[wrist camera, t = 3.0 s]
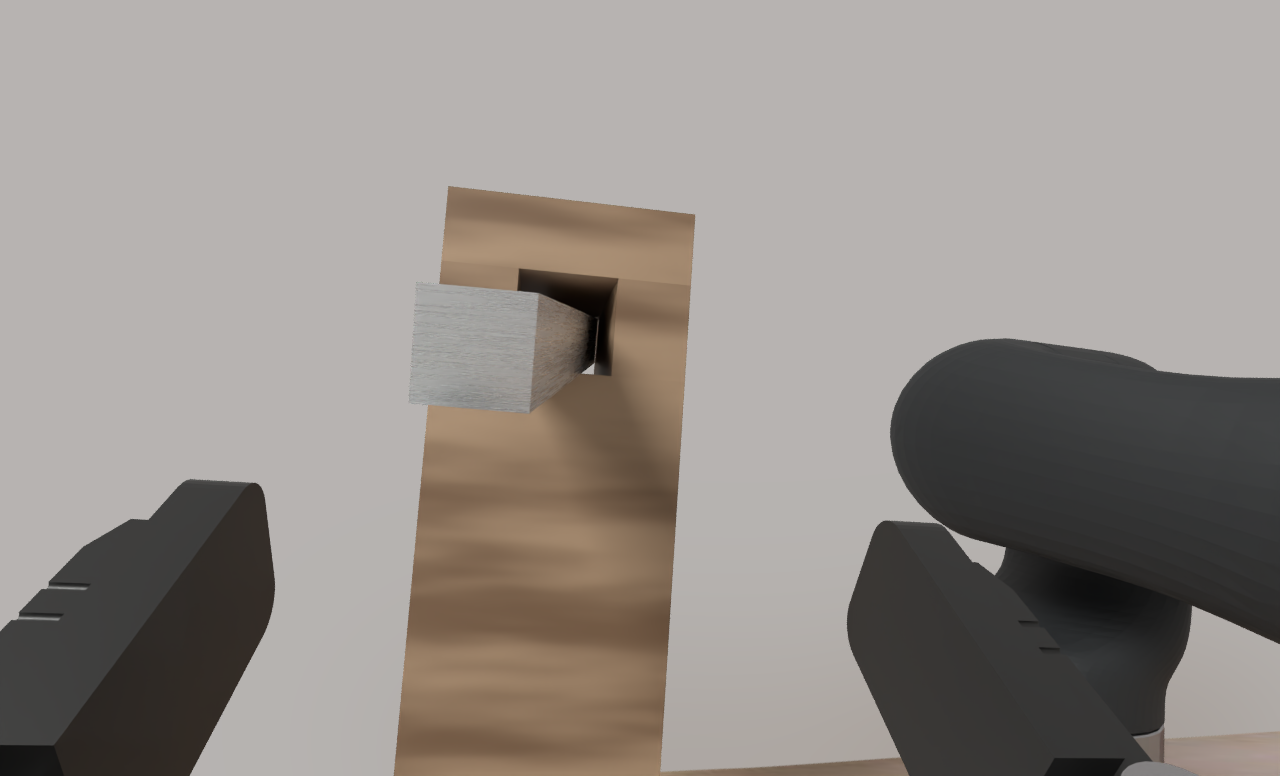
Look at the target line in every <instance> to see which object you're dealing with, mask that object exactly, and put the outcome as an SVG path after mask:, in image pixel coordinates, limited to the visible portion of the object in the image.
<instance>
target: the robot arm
mask: <svg viewBox="0 0 1280 776" xmlns="http://www.w3.org/2000/svg"><path fill="white" fill-rule="evenodd" d="M890 438H891V446H892V452H893V456H894V460H895V463H896V466H897V468H898V471H899V474H900V476H901V477H902V479H903V481H904V483H905V485H906V487H907V488H908V490H909V491H910V493H911V494H912V495H913V496H914V498H915V499H916V500H917V502H918V503H919V504H920V505H921V506H922V507H923V508H924V509H925V510H926V511H927V512H928V513H929V514H930V515H931V516H932V517H933V518H935V519H936V520H937V521H939V522H940V523H942V524H943V525H945V526H946V527H948V528H949V529H951V530H953V531H955V532H957V533H959V534H961V535H964V536H966V537H969V538H972V539H975V540H979V541H983V542H987V543H991V544H995V545H999V546H1003V547H1006V550H1005V555H1004V559H1003V562H1002V565H1001V567H1000V569H999V570H998V572H997V573H996V575H995V576H994V575H993V574H992V573H990V572H989V571H988V570H987V569H985V568H984V567H982V566H981V565H980V564H979V563H976V562H972V561H971V560H970V559H969V557H968V556H967V555H966V554H965V552H964V551H963V550H962V548H961V547H960V546H959V545H958V543H957V542H956V541H955V539H954V538H953V537H952V536H951V534H950V533H949V532H948V531H947V530H946V528H945V527H943V526H942V525H940V524H937V523H920V522H903V521H901V522H900V521H883V522H881V523H880V524H879V525H878V526H877V527H876V529H875V531H874V533H873V536H872V539H871V542H870V545H869V548H868V551H867V554H866V556H865V560H864V562H863V566H862V568H861V571H860V574H859V577H858V580H857V583H856V586H855V589H854V592H853V595H852V598H851V601H850V604H849V608H848V615H847V631H848V638H849V643H850V647H851V650H852V652H853V655H854V657H855V659H856V661H857V664H858V666H859V668H860V670H861V672H862V674H863V676H864V679H865V681H866V683H867V685H868V687H869V689H870V692H871V694H872V696H873V698H874V700H875V702H876V705H877V707H878V709H879V711H880V713H881V715H882V717H883V720H884V722H885V724H886V726H887V728H888V730H889V733H890V735H891V737H892V739H893V741H894V743H895V746H896V748H897V750H898V752H899V754H900V756H901V758H902V761H903V763H904V765H905V767H906V769H907V771H908V774H909V776H1199V775H1196V774H1194V773H1192V772H1189V771H1187V770H1185V769H1182V768H1179V767H1176V766H1173V765H1170V764H1165V763H1164V719H1165V718H1164V717H1165V696H1166V689H1167V686H1168V683H1169V681H1170V679H1171V677H1172V675H1173V673H1174V672H1175V670H1176V668H1177V666H1178V664H1179V662H1180V661H1181V659H1182V657H1183V654H1184V651H1185V649H1186V645H1187V641H1188V637H1189V632H1190V625H1191V613H1192V606H1195V607H1197V608H1199V609H1202V610H1204V611H1206V612H1209V613H1211V614H1213V615H1216V616H1218V617H1221V618H1223V619H1225V620H1228V621H1230V622H1232V623H1234V624H1236V625H1239V626H1241V627H1243V628H1246V629H1247V630H1250V631H1252V632H1254V633H1256V634H1259V635H1261V636H1263V637H1265V638H1267V639H1270V640H1272V641H1274V642H1276V643H1278V644H1280V378H1230V377H1216V376H1202V375H1189V374H1180V373H1172V372H1163V371H1157V370H1155V369H1154V368H1153V367H1151V366H1149V365H1147V364H1146V363H1144V362H1141V361H1139V360H1137V359H1133V358H1131V357H1128V356H1124V355H1120V354H1115V353H1110V352H1103V351H1096V350H1089V349H1082V348H1075V347H1067V346H1060V345H1052V344H1045V343H1038V342H1031V341H1023V340H1016V339H988V340H987V339H985V340H978V341H973V342H968V343H965V344H961V345H959V346H956V347H954V348H951V349H949V350H947V351H945V352H943V353H941V354H939V355H938V356H936V357H934V358H933V359H931V360H930V361H929V362H927V363H926V364H925V365H924V366H923V367H922V368H921V369H920V370H919V371H918V372H916V374H915V375H913V377H912V378H911V379H910V381H909V382H908V383H907V385H906V386H905V387H904V389H903V390H902V392H901V394H900V396H899V398H898V401H897V403H896V405H895V408H894V411H893V415H892V420H891V428H890ZM274 592H275V579H274V570H273V562H272V553H271V545H270V537H269V528H268V520H267V512H266V504H265V497H264V493H263V490H262V488H261V487H260V486H259V485H258V484H257V483H245V482H228V481H210V480H193V479H190V480H186V481H185V482H183V483H182V484H181V485H180V486H179V487H178V488H177V489H176V490H175V491H174V492H173V493H172V494H171V495H170V497H169V498H168V499H167V500H166V501H165V502H164V503H163V504H162V505H161V507H160V508H159V509H158V510H157V511H156V512H155V513H154V514H153V516H152V517H151V518H150V519H149V520H138V519H130V520H128V521H127V522H125V523H123V524H122V525H120V526H118V527H116V528H115V529H113V530H112V531H110V532H108V533H106V534H104V535H103V536H101V537H100V538H98V539H96V540H94V541H92V542H91V543H89V544H87V545H86V546H84V547H83V548H82V549H81V550H80V551H79V552H78V553H77V554H76V555H75V556H74V557H73V558H72V559H71V560H70V561H69V562H68V563H67V564H66V565H65V566H64V567H63V568H62V569H61V570H60V571H59V572H58V573H57V574H56V575H55V576H54V577H53V578H52V579H51V580H50V581H49V586H48V588H47V589H41V590H40V591H39V592H38V594H36V596H34V597H33V599H32V600H31V601H30V602H29V603H28V604H27V605H26V606H25V607H24V608H23V609H22V610H21V611H20V612H19V618H18V619H17V620H11V621H10V622H9V623H8V624H7V625H6V626H5V627H4V628H3V629H2V630H1V631H0V776H190V774H191V772H192V770H193V768H194V766H195V764H196V762H197V760H198V759H199V757H200V755H201V753H202V751H203V749H204V747H205V745H206V743H207V741H208V740H209V738H210V736H211V734H212V732H213V730H214V728H215V726H216V724H217V722H218V721H219V719H220V717H221V715H222V713H223V711H224V709H225V707H226V705H227V703H228V701H229V700H230V698H231V696H232V694H233V692H234V690H235V688H236V686H237V684H238V682H239V681H240V678H241V677H242V675H243V673H244V671H245V669H246V667H247V665H248V663H249V662H250V660H251V657H252V656H253V654H254V652H255V650H256V648H257V646H258V644H259V643H260V640H261V639H262V637H263V635H264V633H265V630H266V628H267V625H268V623H269V619H270V616H271V612H272V607H273V602H274V594H275V593H274Z"/></svg>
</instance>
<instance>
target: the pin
mask: <svg viewBox="0 0 1280 776" xmlns="http://www.w3.org/2000/svg"><path fill="white" fill-rule="evenodd" d="M414 314H415V315H414V328H413V343H412V359H411V375H410V390H409V403H412V404H423V405H434V406H446V407H457V408H468V409H480V410H491V411H503V412H514V413H525V414H530V413H531V412H532V411H534V410H535V409H536V408H537V407H539V406H540V405H541V404H543V403H544V402H545V401H546V400H548V399H549V398H550V397H551V396H553V395H554V394H555V393H557V392H558V391H559V390H560V389H562V388H563V387H564V386H566V385H567V384H568V383H569V382H571V381H572V380H573V379H575V378H576V377H577V376H578V375H580V374H581V373H582V372H583V371H585V370H586V369H587V368H589V367H590V366H591V365H592V364H594V363H595V351H596V339H597V327H598V318H595V317H593V316H591V315H588V314H586V313H584V312H581V311H579V310H577V309H575V308H572V307H570V306H568V305H565V304H563V303H561V302H558V301H556V300H554V299H551V298H549V297H547V296H544V295H542V294H540V293H533V292H522V291H511V290H500V289H489V288H478V287H467V286H456V285H445V284H434V283H423V282H416V297H415V312H414Z"/></svg>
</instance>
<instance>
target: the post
mask: <svg viewBox="0 0 1280 776" xmlns="http://www.w3.org/2000/svg"><path fill="white" fill-rule="evenodd" d="M694 225H695V215H693V214H685V213H676V212H667V211H659V210H650V209H642V208H633V207H624V206H616V205H607V204H598V203H590V202H581V201H572V200H563V199H554V198H546V197H538V196H529V195H520V194H511V193H503V192H494V191H486V190H476V189H468V188H459V187H451V186H449V187H448V197H447V208H446V218H445V229H444V240H443V251H442V262H441V273H440V283H439V284H445V285H456V286H467V287H478V288H489V289H500V290H511V291H522V292H533V293H540V294H542V295H544V296H547V297H549V298H551V299H554V300H556V301H558V302H561V303H563V304H565V305H568V306H570V307H572V308H575V309H577V310H579V311H581V312H584V313H586V314H588V315H591V316H593V317H595V318H598V327H597V340H596V353H595V367H594V375H591V374H580V375H578V376H577V377H576V378H575V379H573V380H572V381H571V382H569V383H568V384H567V385H566V386H564V387H563V388H562V389H560V390H559V391H558V392H557V393H555V394H554V395H553V396H551V397H550V398H549V399H548V400H546V401H545V402H544V403H543V404H541V405H540V406H539V407H537V408H536V409H535V410H534V411H532V412H531V413H530V414H525V413H514V412H503V411H491V410H480V409H468V408H457V407H446V406H434V405H428V413H427V423H426V434H425V445H424V456H423V467H422V477H421V489H420V499H419V510H418V520H417V531H416V543H415V554H414V564H413V574H412V585H411V596H410V607H409V618H408V628H407V640H406V651H405V661H404V672H403V683H402V693H401V704H400V715H399V725H398V736H397V747H396V758H395V770H394V776H660V766H661V749H662V734H663V718H664V702H665V686H666V670H667V655H668V639H669V623H670V622H669V621H670V607H671V606H670V605H671V591H672V590H671V589H672V575H673V558H674V543H675V527H676V511H677V495H678V480H679V463H680V447H681V431H682V415H683V400H684V384H685V368H686V353H687V335H688V321H689V320H688V319H689V304H690V289H691V273H692V257H693V241H694Z"/></svg>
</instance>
